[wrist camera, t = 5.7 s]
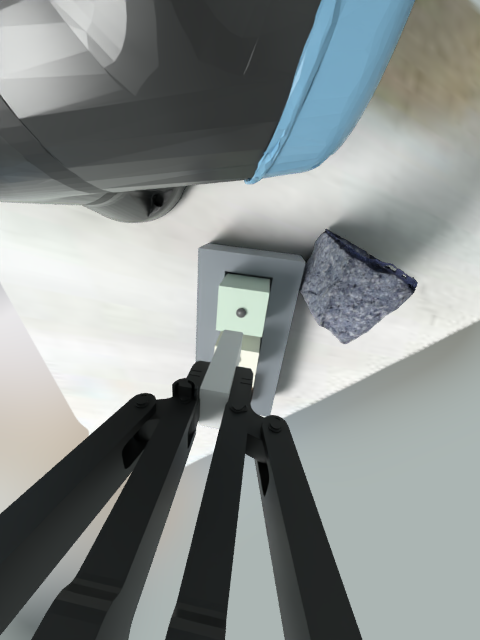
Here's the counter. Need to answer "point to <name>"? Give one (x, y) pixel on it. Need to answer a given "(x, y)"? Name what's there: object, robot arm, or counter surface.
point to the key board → (279, 311)
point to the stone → (350, 287)
